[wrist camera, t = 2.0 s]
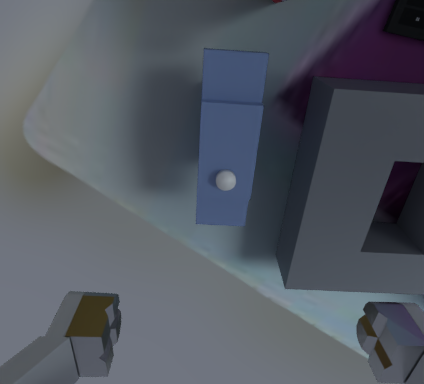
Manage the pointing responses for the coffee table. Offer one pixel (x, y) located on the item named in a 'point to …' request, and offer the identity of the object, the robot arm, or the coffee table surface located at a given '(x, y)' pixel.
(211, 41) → the coffee table surface
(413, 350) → the robot arm
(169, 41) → the coffee table surface
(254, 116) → the block
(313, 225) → the plate
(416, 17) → the calculator
